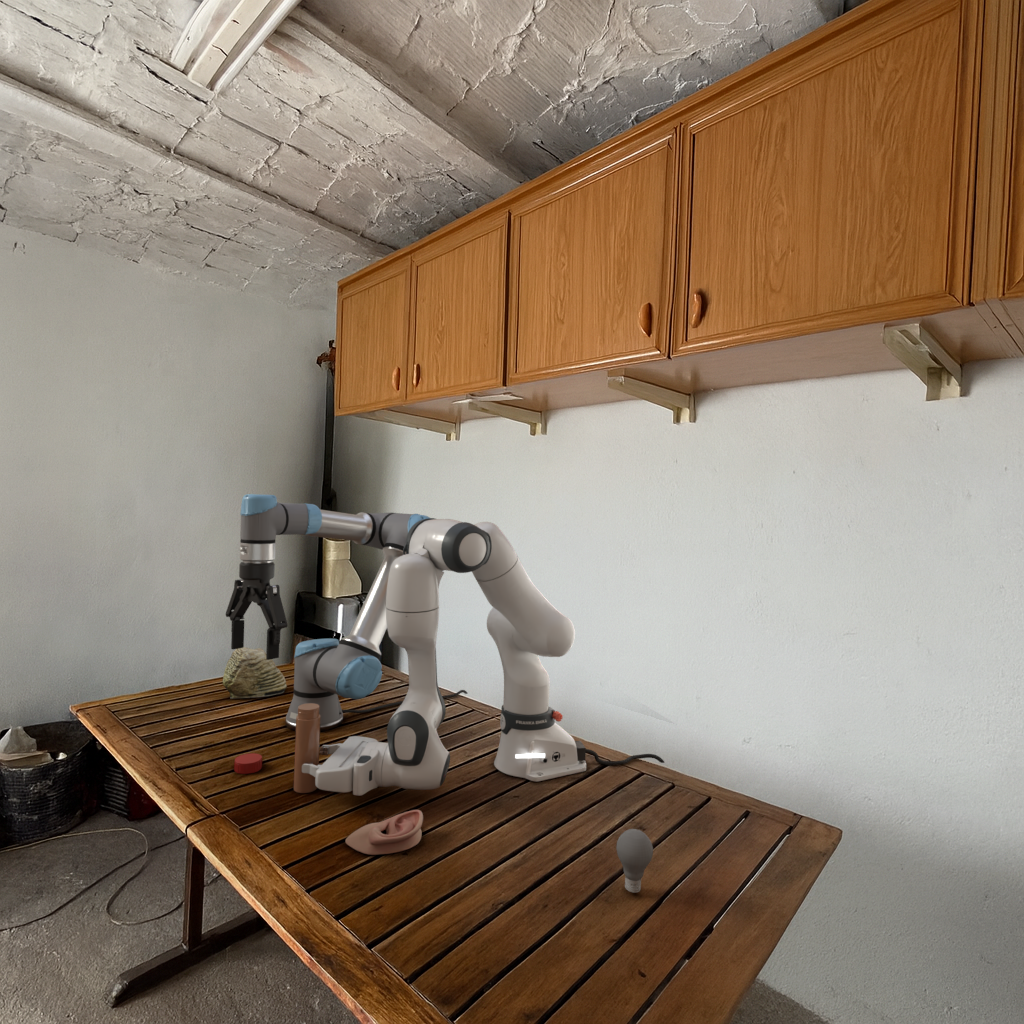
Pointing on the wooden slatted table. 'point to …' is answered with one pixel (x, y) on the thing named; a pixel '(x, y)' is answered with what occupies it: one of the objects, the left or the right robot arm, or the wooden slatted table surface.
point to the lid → (248, 763)
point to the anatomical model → (388, 834)
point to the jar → (306, 745)
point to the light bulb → (634, 857)
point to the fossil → (252, 675)
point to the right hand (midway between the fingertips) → (312, 758)
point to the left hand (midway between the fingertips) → (254, 653)
